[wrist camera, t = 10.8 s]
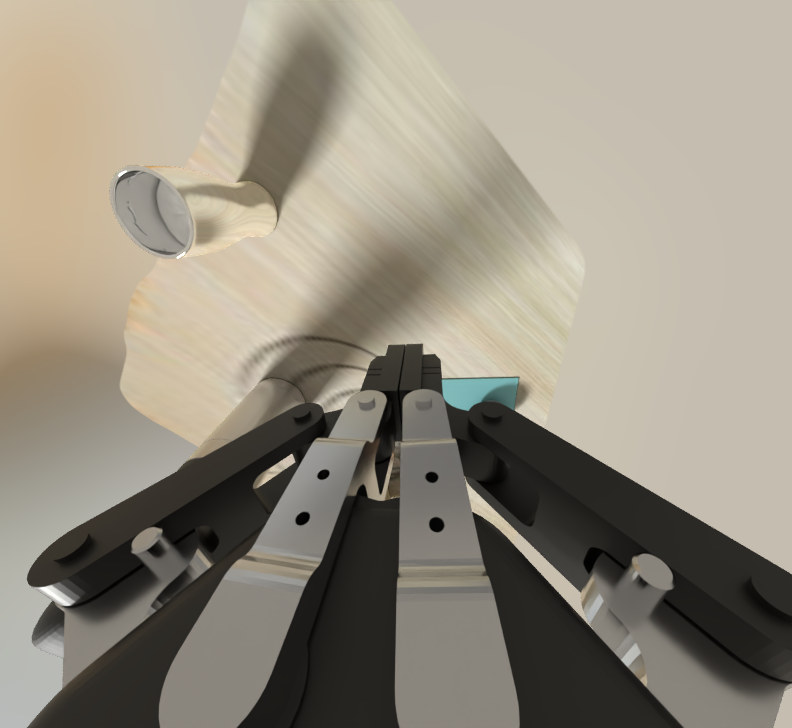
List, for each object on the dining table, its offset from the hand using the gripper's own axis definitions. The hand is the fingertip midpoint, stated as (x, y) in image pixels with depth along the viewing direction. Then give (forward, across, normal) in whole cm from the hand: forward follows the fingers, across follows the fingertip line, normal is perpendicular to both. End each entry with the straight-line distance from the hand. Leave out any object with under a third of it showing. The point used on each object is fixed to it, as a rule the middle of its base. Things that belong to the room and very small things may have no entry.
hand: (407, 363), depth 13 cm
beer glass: (+27, +20, -7) cm, 35 cm away
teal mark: (+27, -7, +26) cm, 38 cm away
